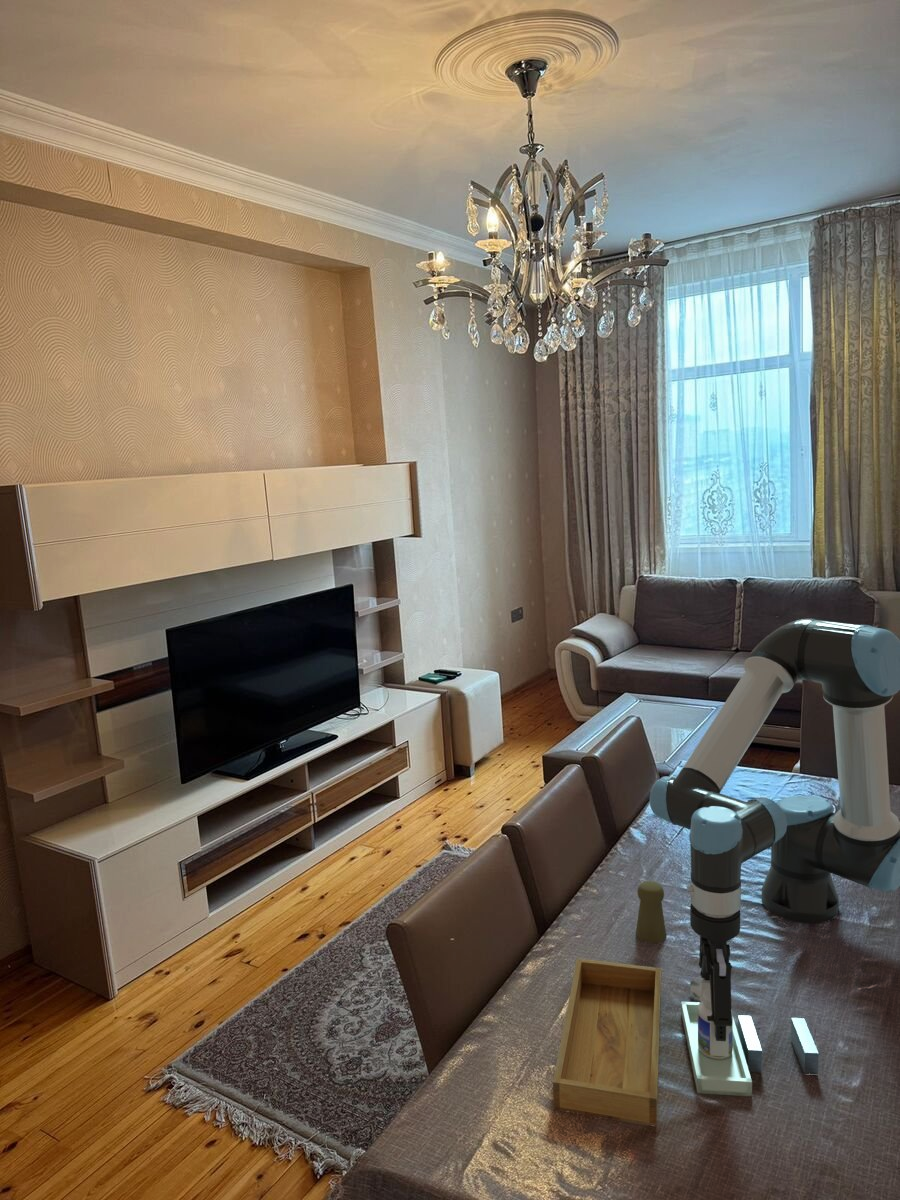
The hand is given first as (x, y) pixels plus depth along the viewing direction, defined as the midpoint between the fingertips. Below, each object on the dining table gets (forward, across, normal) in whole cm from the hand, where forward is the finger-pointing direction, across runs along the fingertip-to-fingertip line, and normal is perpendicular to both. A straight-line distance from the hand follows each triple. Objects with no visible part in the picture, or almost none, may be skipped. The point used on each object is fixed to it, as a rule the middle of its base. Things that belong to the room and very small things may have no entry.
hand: (714, 1034), depth 135 cm
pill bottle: (+3, 0, 0) cm, 3 cm away
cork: (+3, -33, -7) cm, 34 cm away
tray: (+4, 0, -16) cm, 17 cm away
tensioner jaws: (+3, 0, +10) cm, 10 cm away
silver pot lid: (+3, -14, +1) cm, 14 cm away
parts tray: (+3, 0, 0) cm, 3 cm away
